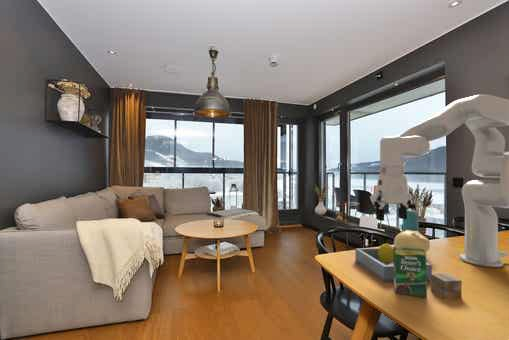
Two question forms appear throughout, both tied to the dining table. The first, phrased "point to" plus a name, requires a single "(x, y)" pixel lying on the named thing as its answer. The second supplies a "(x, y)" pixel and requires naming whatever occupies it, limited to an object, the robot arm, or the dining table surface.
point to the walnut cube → (446, 285)
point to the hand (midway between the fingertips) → (391, 219)
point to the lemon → (386, 253)
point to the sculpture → (411, 240)
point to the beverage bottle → (411, 219)
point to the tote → (380, 264)
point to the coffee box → (410, 271)
